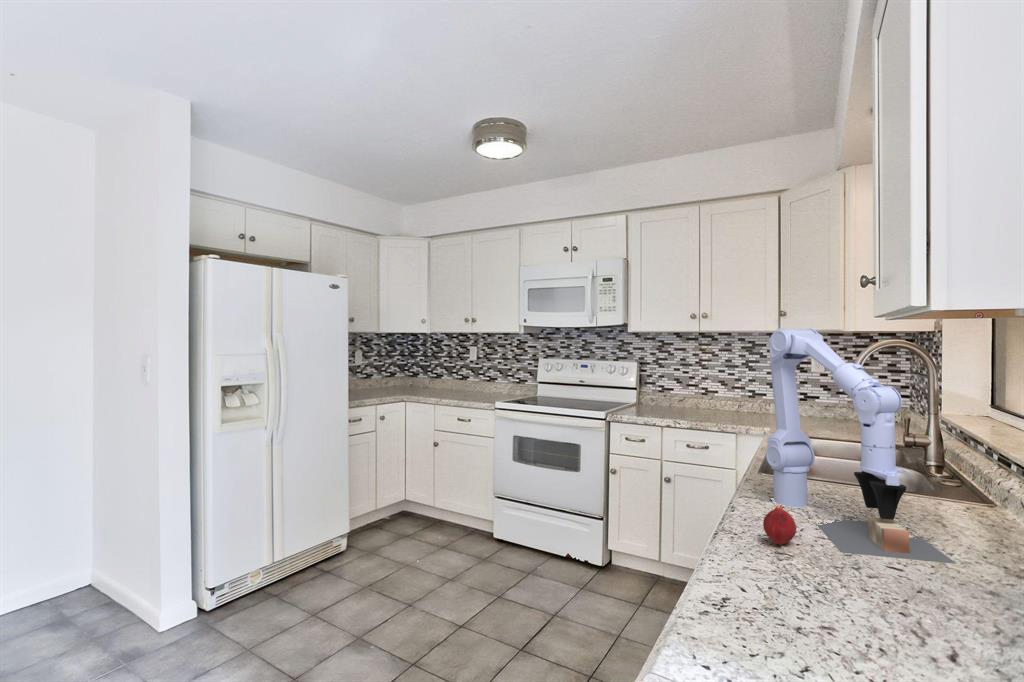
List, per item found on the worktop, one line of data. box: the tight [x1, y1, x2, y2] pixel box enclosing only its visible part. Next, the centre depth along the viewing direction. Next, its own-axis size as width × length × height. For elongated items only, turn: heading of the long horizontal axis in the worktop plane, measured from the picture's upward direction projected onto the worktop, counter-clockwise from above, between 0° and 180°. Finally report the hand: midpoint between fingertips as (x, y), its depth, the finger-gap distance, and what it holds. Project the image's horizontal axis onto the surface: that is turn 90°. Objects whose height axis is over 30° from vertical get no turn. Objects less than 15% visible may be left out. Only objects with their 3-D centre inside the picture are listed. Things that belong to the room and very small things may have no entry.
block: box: [867, 516, 909, 553], centre depth 100 cm, size 4×4×8 cm
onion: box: [762, 504, 797, 546], centre depth 101 cm, size 6×6×8 cm
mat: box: [817, 518, 957, 565], centre depth 104 cm, size 22×18×1 cm
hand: (879, 513), depth 104 cm, fingers open, 7 cm apart
